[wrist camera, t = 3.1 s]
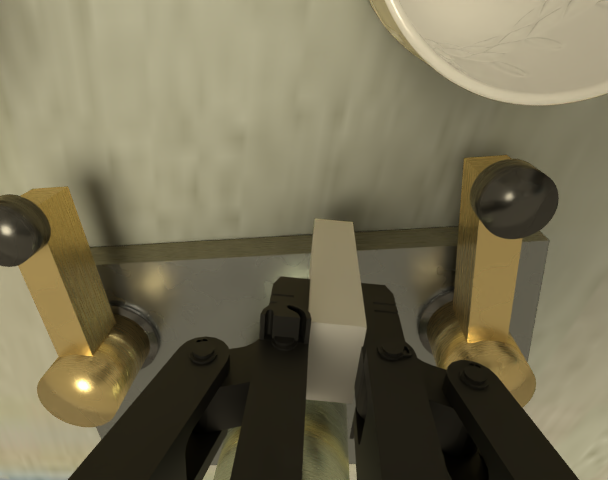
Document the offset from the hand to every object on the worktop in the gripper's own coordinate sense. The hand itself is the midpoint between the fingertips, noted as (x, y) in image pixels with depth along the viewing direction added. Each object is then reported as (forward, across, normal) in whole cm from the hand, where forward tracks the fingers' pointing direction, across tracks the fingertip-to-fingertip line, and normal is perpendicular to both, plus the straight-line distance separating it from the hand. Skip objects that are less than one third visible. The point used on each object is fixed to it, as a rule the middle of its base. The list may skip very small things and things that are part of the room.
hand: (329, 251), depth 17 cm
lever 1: (+2, -11, -4) cm, 12 cm away
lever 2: (+2, +7, -1) cm, 7 cm away
